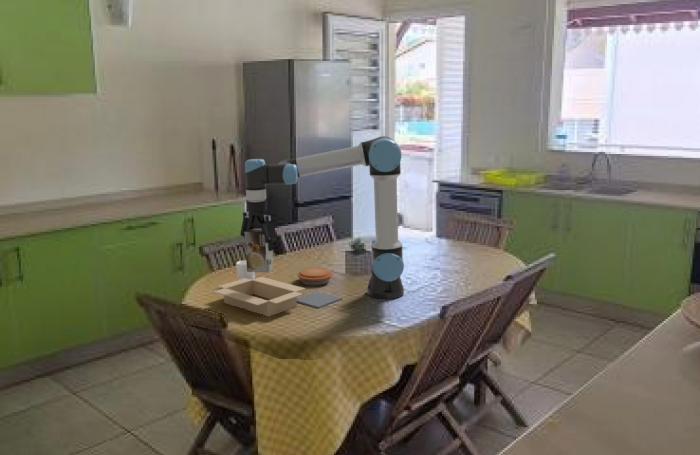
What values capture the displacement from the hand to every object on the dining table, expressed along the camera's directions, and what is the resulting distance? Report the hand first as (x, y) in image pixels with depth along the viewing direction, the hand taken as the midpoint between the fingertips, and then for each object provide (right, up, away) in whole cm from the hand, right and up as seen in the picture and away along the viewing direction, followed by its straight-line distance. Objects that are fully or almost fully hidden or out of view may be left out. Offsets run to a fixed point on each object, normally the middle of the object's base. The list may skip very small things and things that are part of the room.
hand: (259, 256), depth 244 cm
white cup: (-10, -14, +30) cm, 34 cm away
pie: (+20, -13, +34) cm, 41 cm away
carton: (0, -19, +4) cm, 19 cm away
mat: (+22, -18, +9) cm, 30 cm away
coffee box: (0, -6, +1) cm, 6 cm away
